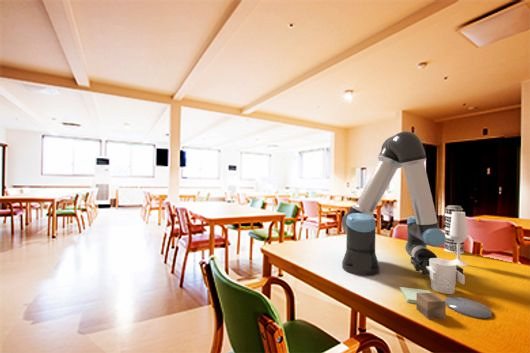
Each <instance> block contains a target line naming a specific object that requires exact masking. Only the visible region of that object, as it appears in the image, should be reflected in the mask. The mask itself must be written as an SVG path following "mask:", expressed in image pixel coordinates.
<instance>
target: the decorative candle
mask: <svg viewBox="0 0 530 353" xmlns="http://www.w3.org/2000/svg"><path fill="white" fill-rule="evenodd" d="M444 208H445V209H444V210H445V213H444V215H443V218H442V219H443V220H444V221H443V226H444V227H443V229H444V230H445V231H444V232H445V233H444V234H445V236H446V240H445V242H444V244H443V245H444V246H443V248H444V252H447V253H451V254H457V242H455V241H454V240H453V239H452V238H451V237H450V235H449V234H450V225H451V217H452V212H453V211H455V212H464V211H463V210H464V208H462V206H461V205H452V204H451V205H450V204H449V205H447V206H446V207H444ZM464 244H465V243H464V241H463V242H461V243H460V255H461V254H463V255H464V251H465V249H464V248H465V246H464Z"/></svg>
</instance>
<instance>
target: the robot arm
mask: <svg viewBox="0 0 530 353" xmlns="http://www.w3.org/2000/svg"><path fill="white" fill-rule="evenodd" d="M426 156H427V155H426V152H425V148H424V145H423V142H422V141H421V139H420V137H419V136H418V135H417V134H416V133H414V132H412V131H401V132H398V133H397V134H394V135H392V136H390V137H388V138H386V139H385V141H384V142H383V143H382V145H381V149H380V152H379V154H378V156H377V157H378V162H377V165H376V167H375V169H374V170H373V172H372V174H371V176H370V178H369V180H368V181H367V183H366V185H365V187H364V188H363V190H362V192H361V195H360V196H359V198H358V200H357V201H356V203H355V204H354V205H353V204H352V205H350V207H349V209H348V211H347V213H345V215H343V216H342V219H341V227H342V230H343V231H344V233H345V235H346V248H345V249H346V250H345V253H344V256H343V260H342V262H341V263H342V264H341V266H342V269H343V270H344V271H346V272H347V273H350V274H352V275H353V274H354V275H358V276H364V277H372V276H377V275H379V274H380V273H381V272H380V270H381V267H380V264H379V260H378V257H377V254H376V227H377V223H376V218H375V215H374V212H375V210H376V208H377V206H378V205H379V204H380V201H381V199H382V198H383V196H384V194H385V192H386V191H387V188H388V187H389V185H390V183H391V181H392V179H393V178H394V175H395V174H396V172H397V170H398V169H401V168H403V171H404V174H405V175H404V176H405V179H406V185H407V188H408V192H409V196H410V201H411V205H412V210H413V214H414V215H413V216H412V215H411V216H408V217H407V219H406V220H407V221H406V228H407V230H406V231H407V232H406V233H407V235H406V236H407V241H406V243H405V247H404V248H405V251H406V253H407V255H408V256H410V264H411V265H413V268H414V270H415V272H420V271H421V275H426V276H428V277H429V279H430V278H431V279H432V280H433V281H436V273H435V272H434V271H433V270H432V269H431V268H430V267H429V259H430V258H438V256H437V255H436V254H435V252H434V251H432V250H430V249H429V247H427V246H430V247H433V248H439V247H442V246H443V245H444V243H445V240H446V236H445V233H444V231H443V230H442V229H440V226H439V223H438V218H437V214H436V209H435V204H434V201H433V200H434V199H433V195H432V192H431V187H430V183H429V178H428V174H427V170H426V165H425V162H426V160H427V157H426ZM465 279H466V277H465V275H464V268H462V266H459V265H457V267H456V281H458V282H459V283H460V284H462V285H465V282H466V280H465Z"/></svg>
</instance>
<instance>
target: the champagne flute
mask: <svg viewBox="0 0 530 353" xmlns="http://www.w3.org/2000/svg"><path fill="white" fill-rule="evenodd" d="M449 235H450V237H451V238H452V239H453V240H454V241H455V242H457V253H456V258H455V259H453V260H451V261H453V262H455V263H456V264H457V266H459V267H467V266H468V265H469V264H467V263H466V262H465V261H463V260H462V259H461V254H460V243H461V242H463V243H464V242H465V241H466V240H467V239H468V237H469V234H468V227H467V218H466V212H465V211H463V212H455V211H453V212H452V217H451V225H450V234H449Z"/></svg>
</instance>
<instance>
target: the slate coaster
mask: <svg viewBox="0 0 530 353" xmlns="http://www.w3.org/2000/svg"><path fill="white" fill-rule="evenodd" d="M444 301H445V302H446V307H447V308H449V309H450V310H452V311H453V310H454V312H455V313H457V314H460V313H461V314H460V315H463V316H465V317H466V316H467V317H471V318H476V319H491V317H493V311H492V310H491V308H489V307H488V306H487V305H485V304H484V303H483V304H482V303H481V302H478V301H476V300H473V299H470V298H466V297H463V296H462V297H460V296H447V297H445V298H444Z"/></svg>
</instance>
